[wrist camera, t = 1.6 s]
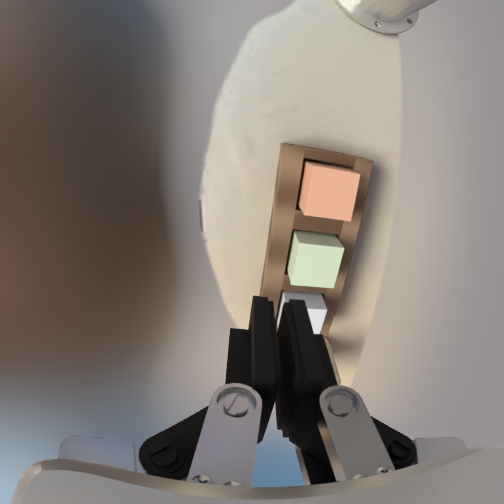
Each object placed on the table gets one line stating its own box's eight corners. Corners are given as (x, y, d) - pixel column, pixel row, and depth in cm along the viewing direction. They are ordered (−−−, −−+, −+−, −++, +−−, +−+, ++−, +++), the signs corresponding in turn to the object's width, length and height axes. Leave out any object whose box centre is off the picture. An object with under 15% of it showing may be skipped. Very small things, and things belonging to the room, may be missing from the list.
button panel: (281, 142, 31) (285, 144, 27) (360, 157, 32) (373, 161, 28) (256, 313, 41) (257, 331, 37) (322, 318, 41) (327, 335, 38)
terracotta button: (304, 160, 30) (312, 165, 25) (346, 167, 30) (360, 174, 26) (297, 203, 32) (304, 215, 28) (338, 209, 32) (350, 221, 28)
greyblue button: (282, 286, 36) (286, 307, 32) (319, 289, 36) (327, 309, 32) (276, 317, 38) (279, 339, 34) (311, 319, 38) (317, 340, 34)
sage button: (293, 228, 33) (299, 242, 29) (333, 233, 33) (344, 248, 29) (286, 266, 35) (291, 284, 31) (324, 269, 35) (333, 288, 31)
